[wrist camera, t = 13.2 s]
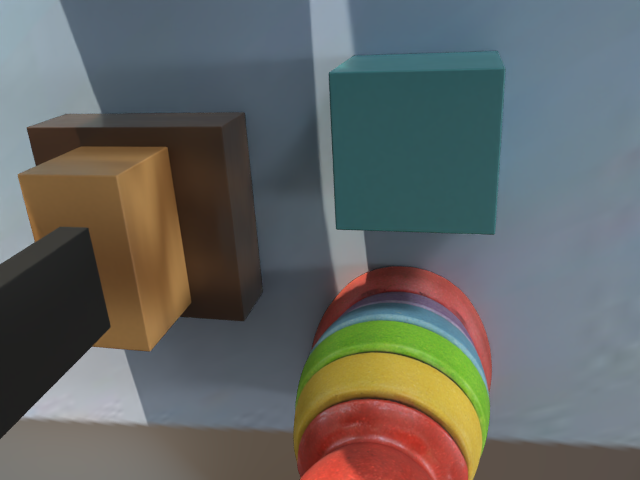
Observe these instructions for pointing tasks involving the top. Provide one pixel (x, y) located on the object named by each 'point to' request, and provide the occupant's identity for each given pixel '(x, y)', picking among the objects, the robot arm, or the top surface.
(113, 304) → the oak brick
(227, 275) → the walnut base
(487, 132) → the teal cube
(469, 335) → the stacking bear
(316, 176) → the top surface
